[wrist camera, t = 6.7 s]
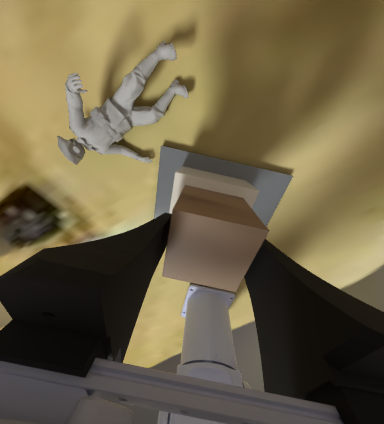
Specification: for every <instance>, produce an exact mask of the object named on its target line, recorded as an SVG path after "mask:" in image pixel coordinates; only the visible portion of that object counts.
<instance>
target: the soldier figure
mask: <svg viewBox="0 0 384 424" xmlns="http://www.w3.org/2000/svg"><path fill="white" fill-rule="evenodd" d="M163 59H164V60H167V59H169V60H173V61H174V60H175V59H177V55H176V51H175V48H174V46H173V44H172V43H170V44H167V45H166V43H165V42H164V41H162V43H160V44H159V46H158V47H157V49H156V50H154V52H152V53H151V54H150V55H148V57H146V58H145V59H144V60H143V61H141V62H140V63H139V64H138V65H137V66H136V67H135V68H134V70H133V71H132V72H131V73H129V74H128V75H126V76H125V77H124V79H123V82H122V84H121V86H120V87H119V88H118V90H117V91H116V93H115V94H114V96H113V98H111V97H109V98H108V99H107V100H106V102H105V103H104V104H103V105H102V107H100V109H99V108H98V107H96V108H95V109H93V110H92V111H91V112H90V115H91V117H87V118H84V113H83V101H82V98H81V96H80V93H85V92H87V90H81V89H80V88H81V87H83V85H82V84H79V85H77V84H78V83H81V80H75V79H80V76H78V73H73V74H71V75H69V76H68V80H67V82H66V83H65V86H66V101H67V104H68V112H69V124H70V126H69V128H70V129H71V130H72V131H73V132H74V134H75V135H76V136H77V137H78V138H77V141H76V139H75V140H74V138H73V139H70V140H69V141H68V140H65V139H63V138H62V137H60V136H57V137H58V145H59V148H60V150H61V152H62V153H63V154H64V155H65V157H66V158H67V159H68V160H70V161H71V162H73V163H74V164H76V165H77V164H78V163H79V162H80V161H81V160H82V158H83V157H84V154H85V150H84V147H85V148H86V149H88V150H89V151H93V150H94V151H97V152H98V153H100V154H102V155H103V154H123V155H125V156H128V157H131V158H134V159H136V160H140V161H143V162H147V163H150V162H152V160H151V159H148V158H149V157H141V156H140V155H139V154H138V153H136V152H134V151H132V150H131V149H129V148H127V147H124V146H122V145H118V144H114V143H113V142H115V141H116V142H118V141H120V140H121V139H123V135H125V133H127V131H129V130H130V129H131V128H132V127H133V126H139V125H149V124H153V123H156V122H158V121H159V119H160V118H162V116H164V115H165V111H166V109H167V107H168V105H169V103H170V102H171V100H172V99H173V97H174V95H175V94H176V95H181V96H183V97H184V98H188V91H187V89H186V87H185V86H184V85H183V86H181V85H180V84H179V82H178V81H177V80H176V79H175V80H174V81H173V82H172V83H171V85H170V88H168V90H167V91H166V92H165V93H164V95H163V96H162V97H161V98H160V99H159V100H158V101H157V102H156V104H155V105H154V106H152V107H150V106H147V107H146V106H140V107H137V106H133V105H134V102H135V100H136V98H137V97H138V96H139V95H140V94H141V92H142V91H143V90H144V87H145V83H146V82H147V79H148V78H149V76H150V75H151V73H152V72H153V70H154V68H155V67H156V65H157V64H158V62H159V61H160V60H163ZM74 80H75V81H74ZM81 144H82V145H83V146H84V147H83V146H82V145H81Z"/></svg>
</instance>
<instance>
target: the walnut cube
mask: <svg viewBox="0 0 384 424" xmlns="http://www.w3.org/2000/svg"><path fill="white" fill-rule="evenodd" d="M268 232H269V230H268V229H267V227H266V226H265V225H264V223H263V222H262V221H261V220H260V218H259V217H258V216H257V215H256V213H255V212H254V211H253V210H252V208H251V207H250V206H249V205H248V203H247V202H246V201H245V199H244V198H241V197H237V196H232V195H228V194H223V193H219V192H215V191H210V190H206V189H201V188H197V187H192V186H188V185H185V186H184V188H183V190H182V192H181V194H180V196H179V198H178V200H177V202H176V204H175V206H174V208H173V210H172V216H171V223H170V229H169V235H168V242H167V248H166V254H165V261H164V267H163V273H162V277H167V278H172V279H176V280H181V281H186V282H190V283H195V284H200V285H204V286H209V287H214V288H218V289H223V290H228V291H232V292H236V290H237V289H238V287H239V285H240V283H241V281H242V279H243V278H244V276H245V274H246V272H247V270H248V269H249V267H250V265H251V263H252V261H253V259H254V258H255V256H256V254H257V252H258V250H259V249H260V247H261V245H262V243H263V241H264V239H265V238H266V236H267V234H268Z"/></svg>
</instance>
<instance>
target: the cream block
mask: <svg viewBox="0 0 384 424" xmlns="http://www.w3.org/2000/svg"><path fill="white" fill-rule="evenodd" d="M185 185H188V186H192V187H197V188H201V189H206V190H210V191H215V192H219V193H223V194H228V195H232V196H237V197H241V198H244V199H245V201H246V202H247V203H248V205H249V206H250V207H251V208H252V207H253V204H254V202H255V200H256V198H257V195H258V193H259V190H257V189H256V188H255V187H253V186H252V185H251V184H250V183H248V182H247V181H246V180H241V179H237V178H233V177H228V176H224V175H219V174H215V173H211V172H206V171H202V170H197V169H193V168H189V167H184V166H182V167H181V168H180V169H178V170H177V171H176V172H175V177H174V184H173V191H172V197H171V204H170V211H169V213H170V214H172V210H173V208H174V206H175V204H176V202H177V200H178V198H179V196H180V194H181V192H182V190H183V188H184V186H185Z"/></svg>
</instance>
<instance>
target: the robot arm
mask: <svg viewBox="0 0 384 424" xmlns="http://www.w3.org/2000/svg"><path fill="white" fill-rule="evenodd" d="M171 216H172V214H170V213H166V212H165V213H163V214H162V215H160V216H158V217H156V218H155V219H153V220H151V221H149V222H147V223H145V224H143V225H141V226H139V227H137V228H135V229H132V230H130V231H127V232H124V233H121V234H118V235H114V236H111V237H107V238H104V239H99V240H95V241H90V242H85V243H80V244H74V245H67V246H61V247H54V248H46V249H43V250H41V251H40V252H38V253H36V254H35V255H33V256H32V257H30V258H28V259H27V260H25V261H24V262H22V263H20V264H19V265H17V266H16V267H14V268H12V269H11V270H9V271H8V272H6V273H5V274H3V275H1V276H0V301H1V303H2V305H3V306H4V307H5V309H6V310H7V312H8V313H9V315H10V316H11V317H12V319H13V320H12V321H11V322H9V323H8V324H7V325H6V326H5V327H4V328H3V329H2V330H0V424H132V423H131V418H132V411H131V409H128V408H125V407H123V406H120V405H117V404H114V403H112V402H109V401H114V402H119V403H124V404H129V405H134V406H139V407H145V408H149V409H154V410H159V417H158V423H157V424H384V312H382V311H380V310H378V309H376V308H374V307H372V306H370V305H368V304H366V303H364V302H362V301H360V300H358V299H356V298H354V297H353V296H351V295H349V294H347V293H345V292H343V291H341V290H340V289H338V288H336V287H334V286H333V285H331V284H329V283H327V282H326V281H324V280H322V279H321V278H319V277H317V276H316V275H314V274H313V273H311V272H310V271H308V270H306V269H305V268H303V267H302V266H300V265H299V264H298V263H296V262H295V261H293V260H292V259H291V258H289V257H288V256H286V255H285V254H284V253H283V252H281V251H280V250H279V249H277V248H276V247H275V246H274V245H272V244H271V243H270V242H268V241H267V240H266V239H264V241H263V243H262V245H261V247H260V249H259V250H258V252H257V254H256V256H255V258H254V259H253V261H252V263H251V265H250V267H249V269H248V270H247V272H246V274H245V276H244V278H245V281H246V284H247V288H248V291H249V294H250V298H251V302H252V307H253V312H254V317H255V322H256V328H257V334H258V340H259V348H260V354H261V361H262V371H263V380H264V389H265V392H262V391H257V390H252V389H251V388H250V387H249V385H248V383H247V382H242V377H241V371H239V370H237V364H236V358H235V351H234V344H233V338H232V331H231V324H230V318H229V311H228V309H229V307H230V305H231V304H232V302H233V300H234V298H235V294H234V293H231V292H227V291H222V290H217V289H213V288H208V287H203V286H199V285H194V284H191V285H189V289H188V292H187V295H186V298H185V302H184V305H183V308H182V312H181V316H182V317H186V318H185V328H184V337H183V346H182V355H181V364H180V365H178V367H177V374H174V373H168V372H163V371H159V370H154V369H149V368H144V367H139V366H134V365H130V364H125V363H123V360H124V357H125V354H126V351H127V348H128V345H129V342H130V339H131V336H132V332H133V330H134V327H135V324H136V321H137V318H138V315H139V312H140V309H141V306H142V303H143V301H144V298H145V295H146V292H147V289H148V287H149V284H150V281H151V278H152V276H153V274H154V272H155V269H156V267H157V265H158V263H159V261H160V259H161V257H162V255H163V253H164V250H165V248H166V246H167V242H168V235H169V229H170V223H171ZM107 400H109V401H107Z"/></svg>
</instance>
